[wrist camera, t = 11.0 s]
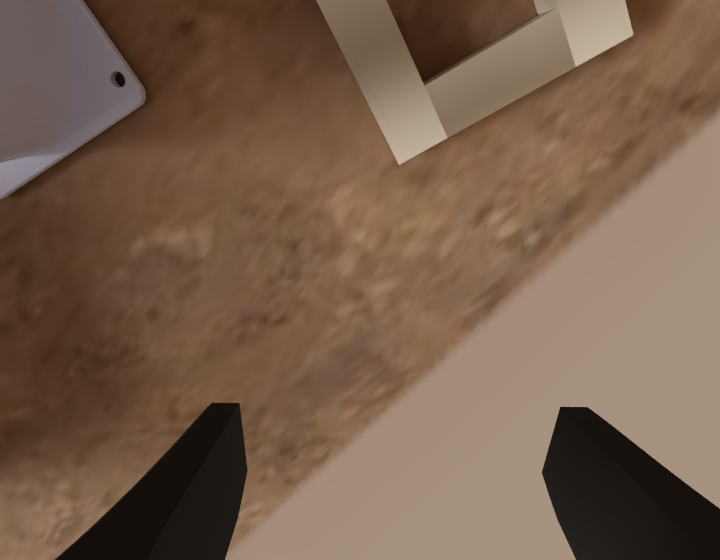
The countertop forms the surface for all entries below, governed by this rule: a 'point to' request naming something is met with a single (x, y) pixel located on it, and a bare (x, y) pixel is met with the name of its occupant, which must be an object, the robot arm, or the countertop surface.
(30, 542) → the countertop surface
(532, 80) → the pin collar
